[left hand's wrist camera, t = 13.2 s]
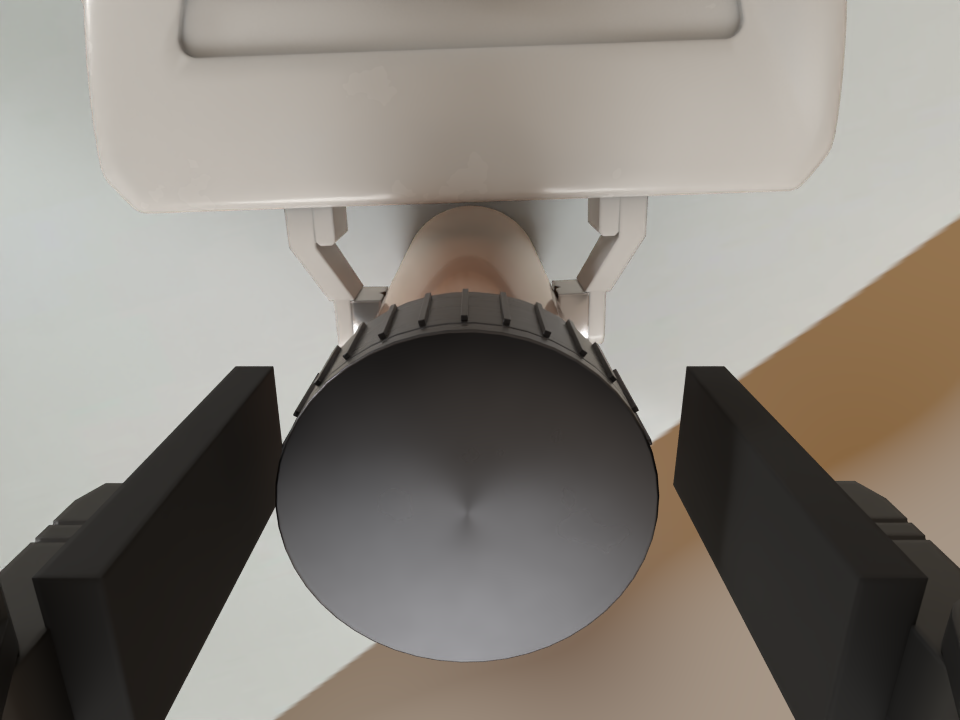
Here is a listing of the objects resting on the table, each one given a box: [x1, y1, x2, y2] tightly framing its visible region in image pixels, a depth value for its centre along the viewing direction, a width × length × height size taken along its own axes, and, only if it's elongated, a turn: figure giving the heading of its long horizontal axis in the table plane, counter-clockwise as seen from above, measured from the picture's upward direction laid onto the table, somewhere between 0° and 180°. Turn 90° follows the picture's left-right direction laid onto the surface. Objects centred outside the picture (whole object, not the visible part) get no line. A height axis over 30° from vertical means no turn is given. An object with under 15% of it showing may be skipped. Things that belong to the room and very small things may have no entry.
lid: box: [275, 289, 659, 662], centre depth 12 cm, size 6×6×2 cm
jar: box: [374, 206, 567, 321], centre depth 19 cm, size 6×6×17 cm
